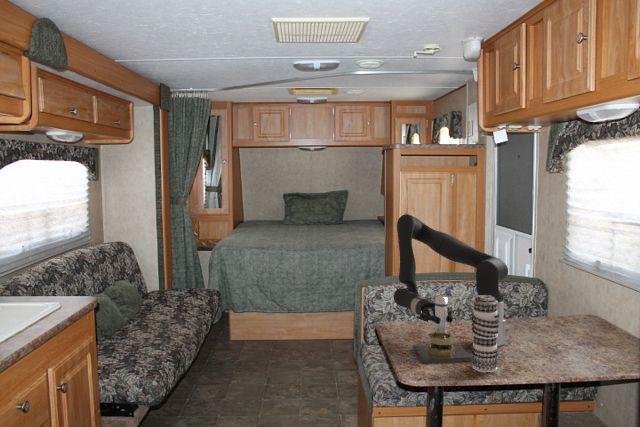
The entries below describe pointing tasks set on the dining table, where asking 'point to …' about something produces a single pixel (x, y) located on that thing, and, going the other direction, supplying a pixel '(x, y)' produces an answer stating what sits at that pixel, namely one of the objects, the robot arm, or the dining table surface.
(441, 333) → the metal thermos flask
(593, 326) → the dining table surface
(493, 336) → the decorative candle
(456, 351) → the collar stand
